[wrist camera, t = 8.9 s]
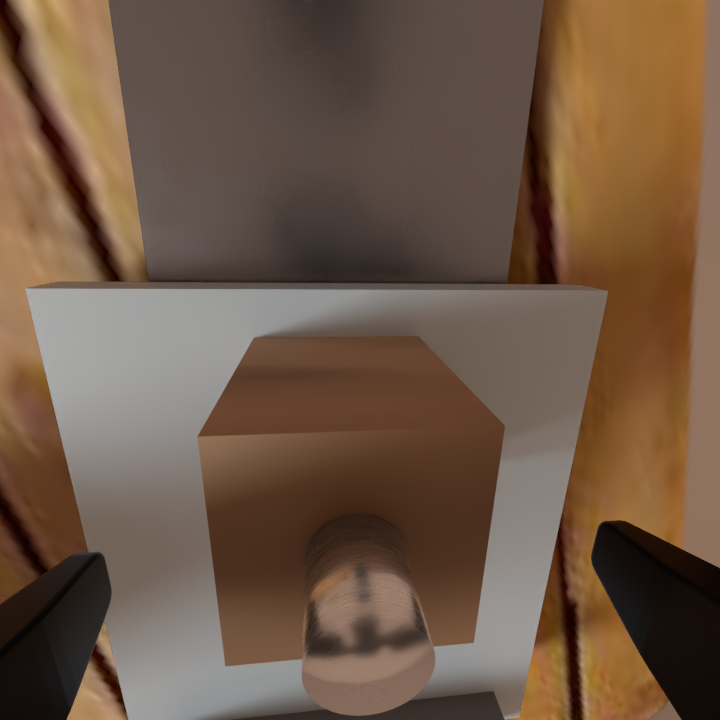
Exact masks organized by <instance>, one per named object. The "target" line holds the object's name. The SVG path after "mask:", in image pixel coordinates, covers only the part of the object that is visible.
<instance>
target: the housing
mask: <svg viewBox="0 0 720 720" xmlns="http://www.w3.org/2000/svg"><path fill="white" fill-rule="evenodd" d="M504 431H505V425H504V424H503V423H502V422H501V421H500V420H499V419H498V418H497V417H496V416H495V415H494V414H493V413H492V412H491V411H490V410H489V409H488V408H487V406H486V405H485V404H484V403H483V402H482V401H481V400H480V399H479V398H478V397H477V396H476V395H475V394H474V393H473V392H472V391H471V390H470V389H469V388H468V387H467V386H466V385H465V384H464V383H463V382H462V381H461V380H460V379H459V378H458V377H457V376H456V374H455V373H454V372H453V371H452V370H451V369H450V368H449V367H448V366H447V365H446V364H445V363H444V362H443V361H442V360H441V359H440V358H439V357H438V356H437V355H436V354H435V353H434V352H433V351H432V350H431V349H430V348H429V347H428V346H427V345H426V343H425V342H424V341H423V340H422V339H421V338H420V337H419V336H371V337H270V338H253V340H252V342H251V343H250V345H249V347H248V349H247V350H246V352H245V354H244V356H243V357H242V359H241V361H240V363H239V364H238V366H237V368H236V370H235V371H234V373H233V375H232V377H231V378H230V380H229V382H228V384H227V385H226V387H225V389H224V391H223V393H222V394H221V396H220V398H219V400H218V401H217V403H216V405H215V407H214V408H213V410H212V412H211V414H210V415H209V417H208V419H207V421H206V422H205V424H204V426H203V428H202V429H201V431H200V433H199V435H198V436H197V438H198V446H199V454H200V462H201V471H202V479H203V487H204V495H205V504H206V512H207V520H208V528H209V537H210V545H211V553H212V561H213V569H214V578H215V586H216V594H217V602H218V611H219V619H220V627H221V635H222V643H223V652H224V660H225V666H236V665H246V664H257V663H267V662H278V661H288V660H299V659H302V682H303V685H304V688H305V690H306V692H307V694H308V695H309V696H310V698H311V699H312V700H313V701H314V702H316V703H317V704H318V705H320V706H321V707H323V708H325V709H327V710H329V711H332V712H335V713H339V714H343V715H352V716H363V715H372V714H378V713H382V712H386V711H388V710H391V709H394V708H396V707H398V706H401V705H402V704H404V703H406V702H408V701H409V700H410V699H412V698H413V697H415V696H416V695H417V694H418V693H419V692H420V691H421V690H422V689H423V688H424V687H425V686H426V684H427V683H428V681H429V680H430V678H431V676H432V673H433V671H434V667H435V652H434V648H433V647H436V646H446V645H457V644H468V643H474V638H475V631H476V624H477V617H478V610H479V604H480V597H481V590H482V583H483V576H484V569H485V562H486V555H487V548H488V541H489V534H490V527H491V521H492V514H493V507H494V500H495V493H496V486H497V479H498V472H499V465H500V458H501V451H502V444H503V437H504Z"/></svg>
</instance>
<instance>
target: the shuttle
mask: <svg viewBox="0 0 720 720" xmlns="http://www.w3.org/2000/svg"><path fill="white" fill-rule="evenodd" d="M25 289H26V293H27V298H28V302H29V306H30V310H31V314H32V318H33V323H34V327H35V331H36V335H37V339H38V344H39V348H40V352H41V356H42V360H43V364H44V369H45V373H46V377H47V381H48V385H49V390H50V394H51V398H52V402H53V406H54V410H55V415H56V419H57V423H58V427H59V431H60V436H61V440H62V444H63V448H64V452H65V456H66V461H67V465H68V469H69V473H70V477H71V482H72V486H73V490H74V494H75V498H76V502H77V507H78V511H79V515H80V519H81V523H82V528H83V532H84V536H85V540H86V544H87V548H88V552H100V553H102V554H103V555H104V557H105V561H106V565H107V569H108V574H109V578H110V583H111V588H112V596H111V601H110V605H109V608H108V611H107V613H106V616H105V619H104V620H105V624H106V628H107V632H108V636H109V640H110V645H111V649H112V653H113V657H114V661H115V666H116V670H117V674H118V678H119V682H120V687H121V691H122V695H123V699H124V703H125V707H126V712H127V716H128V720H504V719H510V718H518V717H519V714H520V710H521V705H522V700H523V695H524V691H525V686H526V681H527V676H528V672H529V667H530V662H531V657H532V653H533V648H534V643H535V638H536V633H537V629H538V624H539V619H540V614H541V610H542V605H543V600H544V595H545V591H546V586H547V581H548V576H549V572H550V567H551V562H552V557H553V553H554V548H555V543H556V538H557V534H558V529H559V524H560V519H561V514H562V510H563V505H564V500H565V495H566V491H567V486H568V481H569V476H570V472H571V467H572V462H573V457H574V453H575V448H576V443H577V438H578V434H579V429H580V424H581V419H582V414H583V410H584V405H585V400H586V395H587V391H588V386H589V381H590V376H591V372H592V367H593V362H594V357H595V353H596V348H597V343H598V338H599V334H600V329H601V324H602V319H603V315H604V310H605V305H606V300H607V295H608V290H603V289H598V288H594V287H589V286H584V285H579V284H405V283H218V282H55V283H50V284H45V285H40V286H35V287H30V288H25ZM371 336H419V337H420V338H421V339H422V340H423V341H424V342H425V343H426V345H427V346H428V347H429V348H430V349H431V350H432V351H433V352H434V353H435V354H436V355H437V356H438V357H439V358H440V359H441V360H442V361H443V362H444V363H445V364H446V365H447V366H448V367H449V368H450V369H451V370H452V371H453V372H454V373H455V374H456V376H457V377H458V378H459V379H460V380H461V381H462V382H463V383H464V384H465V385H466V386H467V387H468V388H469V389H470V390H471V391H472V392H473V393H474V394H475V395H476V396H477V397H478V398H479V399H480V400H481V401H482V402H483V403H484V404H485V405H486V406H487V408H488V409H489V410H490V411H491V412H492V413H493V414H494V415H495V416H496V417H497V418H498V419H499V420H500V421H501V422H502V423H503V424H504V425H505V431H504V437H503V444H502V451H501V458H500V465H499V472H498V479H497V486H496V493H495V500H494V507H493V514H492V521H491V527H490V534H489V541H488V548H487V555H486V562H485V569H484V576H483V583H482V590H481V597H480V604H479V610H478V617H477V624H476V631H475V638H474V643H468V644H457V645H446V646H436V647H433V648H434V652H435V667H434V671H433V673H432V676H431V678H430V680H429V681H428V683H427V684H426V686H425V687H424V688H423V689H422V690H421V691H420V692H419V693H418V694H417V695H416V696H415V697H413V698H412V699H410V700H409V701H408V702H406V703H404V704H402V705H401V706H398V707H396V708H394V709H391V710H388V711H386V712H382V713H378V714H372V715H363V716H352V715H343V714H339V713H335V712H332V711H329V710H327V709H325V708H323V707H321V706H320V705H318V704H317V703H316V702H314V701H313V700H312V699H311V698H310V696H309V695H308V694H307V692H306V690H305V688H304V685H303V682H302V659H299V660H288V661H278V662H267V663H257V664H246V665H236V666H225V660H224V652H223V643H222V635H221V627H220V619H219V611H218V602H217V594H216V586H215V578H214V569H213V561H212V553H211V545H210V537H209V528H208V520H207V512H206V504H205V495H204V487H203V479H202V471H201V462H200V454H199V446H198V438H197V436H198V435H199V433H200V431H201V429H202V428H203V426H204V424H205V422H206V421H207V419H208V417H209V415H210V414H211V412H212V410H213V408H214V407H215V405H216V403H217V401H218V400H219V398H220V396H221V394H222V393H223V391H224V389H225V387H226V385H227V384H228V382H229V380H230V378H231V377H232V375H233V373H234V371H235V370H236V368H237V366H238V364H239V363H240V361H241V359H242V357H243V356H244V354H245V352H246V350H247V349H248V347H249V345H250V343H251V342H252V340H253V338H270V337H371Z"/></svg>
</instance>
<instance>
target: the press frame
mask: <svg viewBox="0 0 720 720" xmlns="http://www.w3.org/2000/svg"><path fill="white" fill-rule="evenodd" d="M543 5H544V0H109V7H110V14H111V21H112V28H113V35H114V42H115V49H116V56H117V63H118V70H119V77H120V84H121V91H122V98H123V105H124V112H125V119H126V126H127V133H128V140H129V147H130V154H131V161H132V168H133V175H134V182H135V189H136V196H137V203H138V210H139V216H140V223H141V230H142V237H143V244H144V251H145V258H146V265H147V272H148V279H149V282H218V283H405V284H507V280H508V272H509V264H510V257H511V249H512V241H513V234H514V226H515V218H516V211H517V203H518V196H519V188H520V180H521V173H522V165H523V157H524V150H525V142H526V135H527V127H528V119H529V112H530V104H531V96H532V89H533V81H534V73H535V66H536V58H537V51H538V43H539V35H540V28H541V20H542V12H543Z"/></svg>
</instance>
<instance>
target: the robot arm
mask: <svg viewBox="0 0 720 720" xmlns="http://www.w3.org/2000/svg"><path fill="white" fill-rule="evenodd" d="M591 560H592V564H593V567H594V570H595V572H596V574H597V575H598V577H599V579H600V581H601V583H602V585H603V587H604V589H605V590H606V592H607V594H608V596H609V598H610V600H611V602H612V603H613V605H614V607H615V609H616V611H617V613H618V615H619V617H620V618H621V620H622V622H623V624H624V626H625V628H626V630H627V631H628V633H629V635H630V637H631V639H632V641H633V642H634V644H635V646H636V648H637V650H638V651H639V653H640V655H641V656H642V658H643V660H644V661H645V663H646V665H647V666H648V668H649V670H650V671H651V673H652V674H653V676H654V677H655V679H656V680H657V682H658V684H659V685H660V687H661V688H662V690H663V691H664V693H665V695H666V696H667V698H668V699H669V701H670V702H671V704H672V705H673V707H674V708H675V710H676V712H677V713H678V715H679V716H680V718H681V719H682V720H720V568H718V567H716V566H714V565H712V564H710V563H708V562H706V561H704V560H702V559H700V558H698V557H696V556H694V555H692V554H690V553H688V552H686V551H684V550H682V549H680V548H678V547H676V546H674V545H672V544H670V543H668V542H666V541H664V540H662V539H660V538H658V537H656V536H654V535H652V534H650V533H648V532H646V531H644V530H642V529H640V528H638V527H636V526H634V525H632V524H630V523H628V522H626V521H621V520H617V521H604V522H602V523H601V524H600V525H599V527H598V530H597V534H596V538H595V542H594V546H593V550H592V555H591ZM111 596H112V588H111V583H110V578H109V574H108V569H107V565H106V561H105V557H104V555H103V554H102V553H100V552H84V553H76V554H73V555H71V556H70V557H68V558H66V559H65V560H64V561H62V562H61V563H59V564H58V565H56V566H55V567H53V568H52V569H50V570H49V571H48V572H46V573H45V574H43V575H42V576H40V577H39V578H37V579H36V580H34V581H33V582H32V583H30V584H29V585H27V586H26V587H24V588H23V589H21V590H20V591H19V592H17V593H16V594H14V595H13V596H11V597H10V598H8V599H7V600H5V601H4V602H3V603H1V604H0V720H66V719H67V717H68V715H69V713H70V710H71V708H72V705H73V703H74V700H75V698H76V695H77V693H78V690H79V687H80V684H81V682H82V679H83V676H84V673H85V671H86V668H87V665H88V663H89V660H90V657H91V654H92V652H93V649H94V646H95V643H96V641H97V638H98V635H99V632H100V630H101V627H102V624H103V622H104V619H105V616H106V613H107V611H108V608H109V605H110V601H111Z"/></svg>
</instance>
